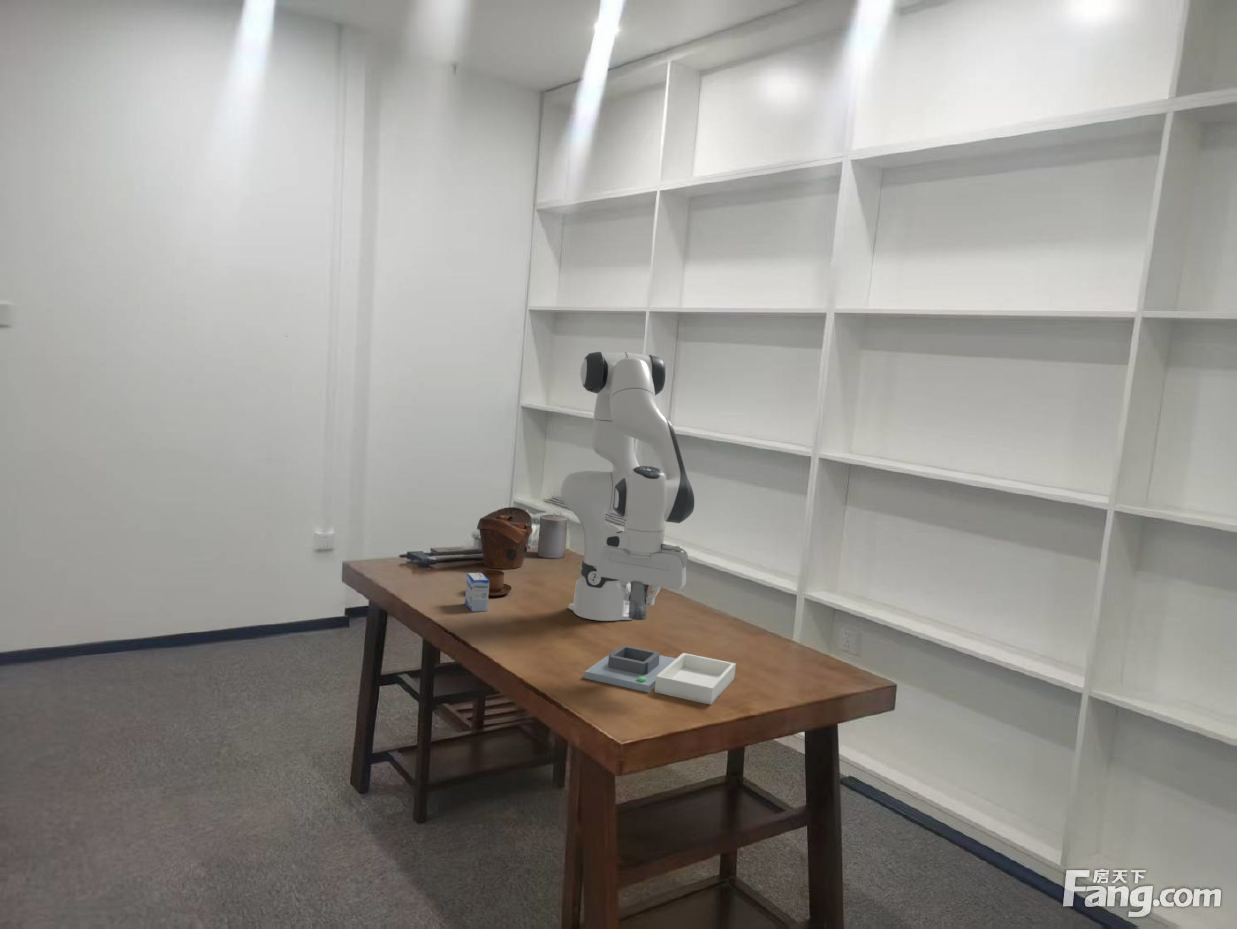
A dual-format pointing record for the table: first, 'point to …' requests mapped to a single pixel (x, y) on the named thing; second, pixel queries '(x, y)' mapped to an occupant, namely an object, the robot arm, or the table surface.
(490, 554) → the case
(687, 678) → the tray
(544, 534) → the pillar candle
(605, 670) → the tester cradle
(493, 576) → the cup and saucer
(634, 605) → the cell
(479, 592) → the medicine box
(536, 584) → the table surface
